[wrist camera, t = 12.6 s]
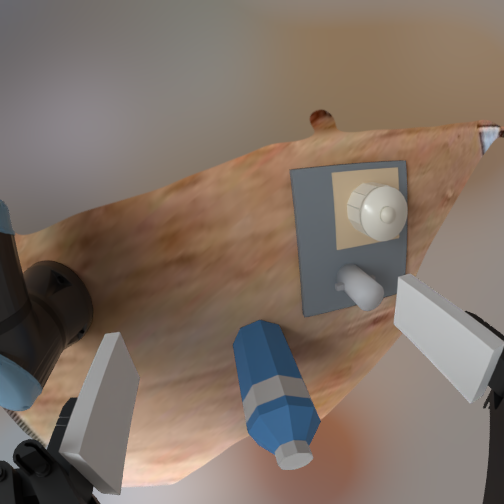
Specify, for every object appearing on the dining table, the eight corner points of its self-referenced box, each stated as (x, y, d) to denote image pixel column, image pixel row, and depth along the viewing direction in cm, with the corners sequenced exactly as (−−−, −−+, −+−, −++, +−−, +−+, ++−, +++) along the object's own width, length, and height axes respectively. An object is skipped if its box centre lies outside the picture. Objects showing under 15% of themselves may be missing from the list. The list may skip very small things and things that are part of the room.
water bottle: (259, 309, 48) (302, 430, 25) (296, 338, 51) (349, 449, 28) (221, 345, 50) (237, 469, 26) (259, 370, 53) (290, 484, 29)
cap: (338, 202, 43) (355, 210, 37) (375, 172, 42) (396, 176, 37) (362, 242, 46) (380, 253, 40) (397, 212, 45) (417, 220, 39)
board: (302, 314, 50) (320, 344, 41) (289, 169, 42) (310, 174, 33) (400, 289, 52) (427, 311, 43) (401, 160, 44) (437, 164, 35)
